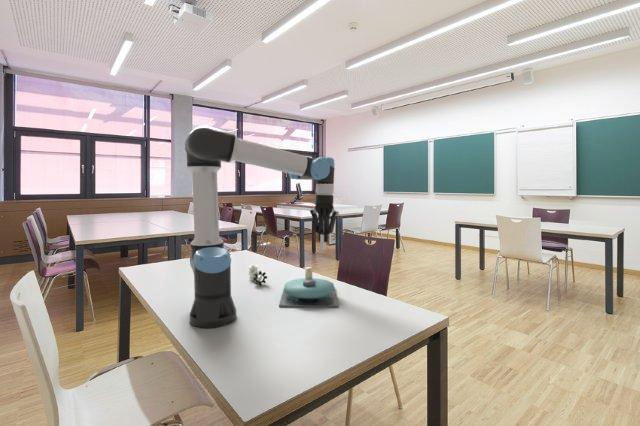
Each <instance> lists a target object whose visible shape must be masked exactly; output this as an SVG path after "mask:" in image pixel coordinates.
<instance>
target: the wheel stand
mask: <svg viewBox="0 0 640 426" xmlns="http://www.w3.org/2000/svg"><path fill="white" fill-rule="evenodd" d="M278 307H279V308H339V302H338V298H337V291H336V287H335V286H334V292H333V293H332V294H331V295H329V296H326V297H321V298H311V299H308V298H297V297H293V296H290V295H288V294H286V293H285V291H284V289H283V291H282V294H281V296H280V300H279V304H278Z"/></svg>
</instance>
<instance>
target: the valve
mask: <svg viewBox="0 0 640 426" xmlns="http://www.w3.org/2000/svg"><path fill="white" fill-rule="evenodd" d="M248 270H249V271H248V276H249V279H248V280H249V281H250V282H253V281H254V284H255V285H257V284H258V285H259V286H262V283H263V284H266V282H267V281H266V279H268V276H267V275H266V272H265V271H263V272H262V270H258V266H257V265H249V269H248Z"/></svg>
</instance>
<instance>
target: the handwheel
mask: <svg viewBox="0 0 640 426" xmlns="http://www.w3.org/2000/svg"><path fill="white" fill-rule="evenodd" d="M304 275H305V277H303V278H296V279H291V280H288V281H287V282H285V283H284V287H283V290H284V291H285V293H286V294H288V295H290V296H293V297H297V298H308V299H311V298H321V297H326V296H329V295H331V294H332V293H333V292H334V287H335V284H334V283H333V282H331V281H330V280H327V279H322V278H315V277H314V278H313V267H311V266H306V267H305V273H304Z"/></svg>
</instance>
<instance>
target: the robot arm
mask: <svg viewBox="0 0 640 426" xmlns="http://www.w3.org/2000/svg"><path fill="white" fill-rule="evenodd" d="M184 150H185V153H186V167H187V169H188V170H189V171H190V172H191V180H192V181H191V183H192V206H193V226H194V227H193V230H194V238H193V240H192V241H191V242H190V243H189V244H190V258H189V265H190V268H191V270H192V272H193V278H194V282H193V285H194V300H193V303H192V305H191V309H190V311H189V324H190V325H191V326H193V327H197V328H202V329H211V328H212V329H213V328H218V327H222V326H227V325H228V324H230V323H232V322H234V321H235V320H236V319H237V308H236V306H235V302H234V300H233V299H234V298H233V297H232V285H231V283H232V281H231V279H232V277H231V276H232V275H231V274H232V273H231V272H232V271H231V270H232V269H231V267H232V266H231V264H232V258H231V252H229V250H227V249H226V248H224V247H225V246H224V240H223V239H222V238H221V237H220V222H219V221H220V220H219V195H218V190H219V189H218V172H219V170H221V169H222V162H225V163H231V162H234V161H235V162H238V163H243V164H247V165H250V166H251V165H252V166H256V167H260V168H265V169H269V170H274V171H277V172H282V173H287V174H288V176H289V179H291V180H304V181H305V180H308V181H309V180H311V181H313V180H314V181H315V194H316V195H315V206H314V208H313V209H310V211H309V213H310V214H311V217H312V219H311V220H312V223H313V229H314V232H315V233H317V234H318V242H319V246H320V247H319V250H321V251H324V250H327V243H328V242H329V235H330V234H332V233H333V231H334V228H335V224H336V221H337V220H336V219H337V216H338V215H339V213H340V212H339V211H337V210H336V209H335V208H334V195H333V194H334V192H335V191H334V190H335V189H334V188H335V186H334V185H335V184H334V183H335V159H334V158H333V157H331V156H330V157H328V156H327V157H325V156H321V157H320V156H319V157H317V158H315V157H311V156H306V155H303V154H299V153H295V152H292V151H288V150H285V149H281V148H276V147H272V146H268V145H266V144H262V143H258V142H254V141H252V140H247V139H246V140H245V139H244V138H239V137H238V136H237V134H235V133H232V132H230V131H229V132H228V131H226V130H222V129H219V128H217V127H214V126H213V127H212V126H208V125H201V126H198V127H197V126H196V127H195V128H194V129H193V130H191V132H190V133H189V135H188V136H187V138H186V140H185V143H184ZM330 215H331V216H330Z"/></svg>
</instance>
